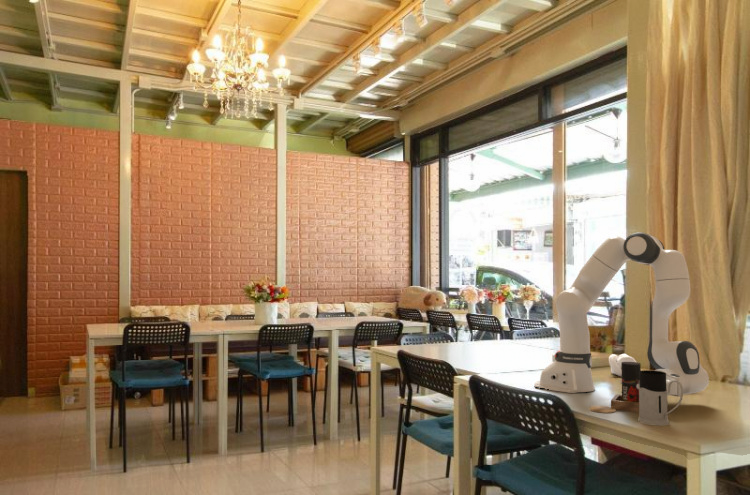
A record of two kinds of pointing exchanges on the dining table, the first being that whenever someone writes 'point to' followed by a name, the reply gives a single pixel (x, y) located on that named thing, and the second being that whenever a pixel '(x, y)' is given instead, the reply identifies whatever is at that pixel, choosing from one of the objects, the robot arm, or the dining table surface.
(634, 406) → the holder frame
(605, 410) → the cork coaster
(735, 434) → the dining table surface
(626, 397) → the deodorant
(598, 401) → the dining table surface
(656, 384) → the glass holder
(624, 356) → the white lumpy blob
